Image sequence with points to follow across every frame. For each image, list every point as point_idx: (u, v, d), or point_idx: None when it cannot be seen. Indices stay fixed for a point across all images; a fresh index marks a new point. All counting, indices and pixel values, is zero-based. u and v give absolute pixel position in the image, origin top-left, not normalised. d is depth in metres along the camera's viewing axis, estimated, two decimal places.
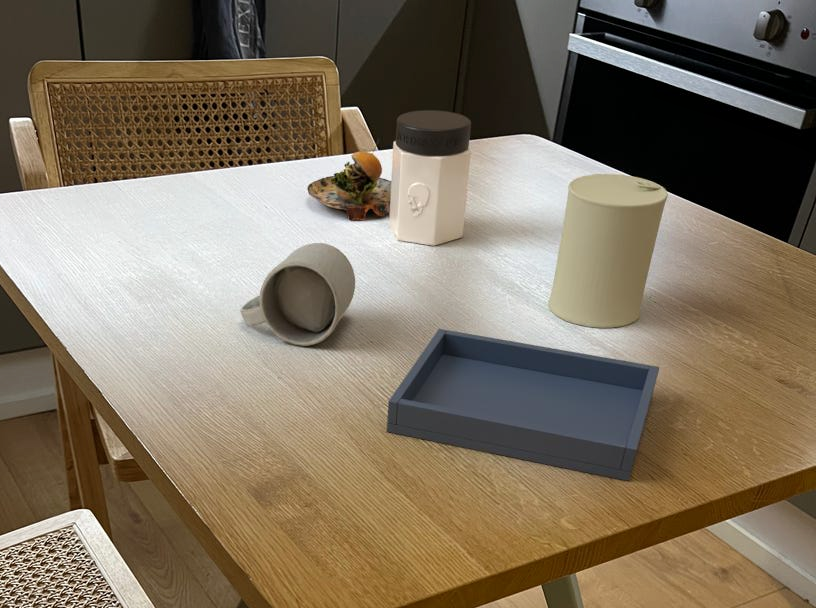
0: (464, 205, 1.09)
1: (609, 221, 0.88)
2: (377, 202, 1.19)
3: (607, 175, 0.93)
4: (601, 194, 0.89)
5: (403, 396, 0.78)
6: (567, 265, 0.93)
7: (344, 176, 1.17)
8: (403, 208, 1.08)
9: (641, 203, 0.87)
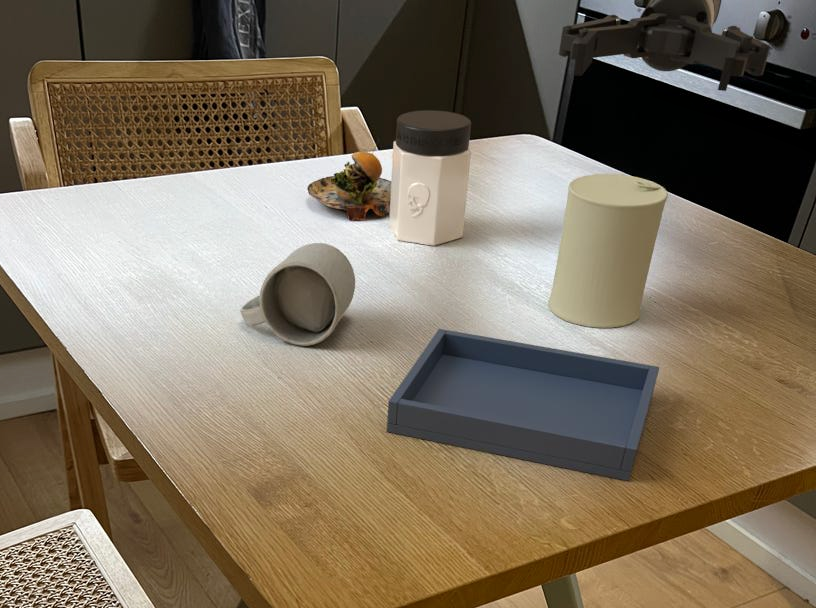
0: (464, 205, 1.09)
1: (609, 221, 0.88)
2: (377, 202, 1.19)
3: (607, 175, 0.93)
4: (601, 194, 0.89)
5: (403, 396, 0.78)
6: (567, 265, 0.93)
7: (344, 176, 1.17)
8: (403, 208, 1.08)
9: (641, 203, 0.87)
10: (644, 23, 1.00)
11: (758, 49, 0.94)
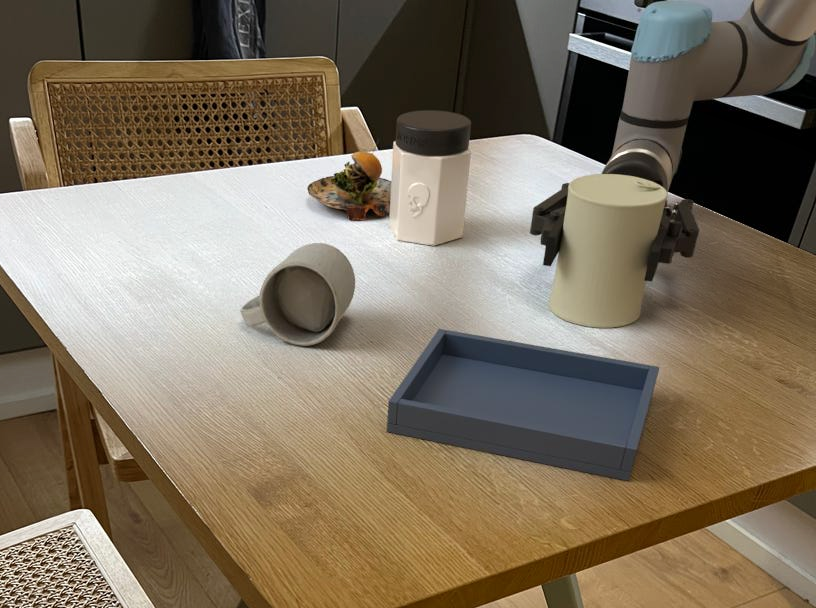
0: (464, 205, 1.09)
1: (609, 221, 0.88)
2: (377, 202, 1.19)
3: (607, 175, 0.93)
4: (601, 194, 0.89)
5: (403, 396, 0.78)
6: (567, 265, 0.93)
7: (344, 176, 1.17)
8: (403, 208, 1.08)
9: (641, 203, 0.87)
10: None
11: (686, 233, 0.93)
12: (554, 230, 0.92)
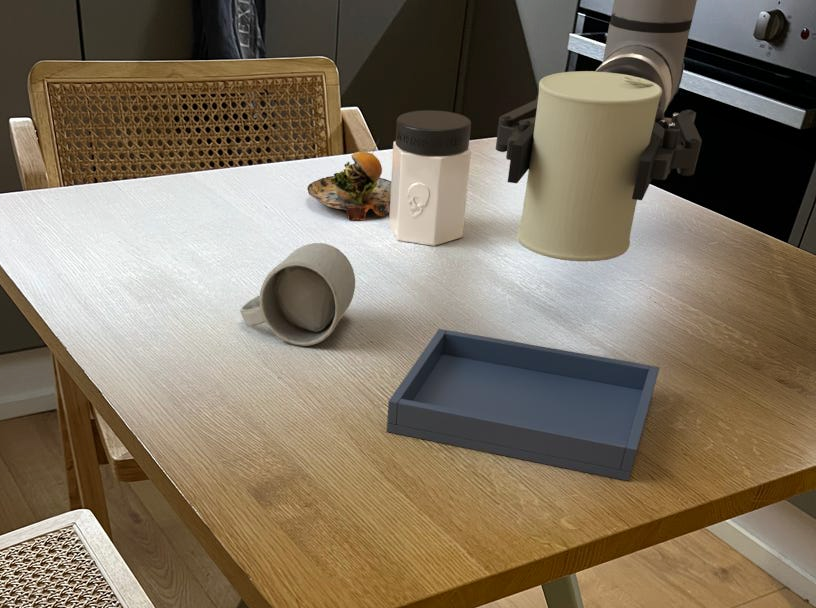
0: (464, 205, 1.09)
1: (588, 123, 0.70)
2: (377, 202, 1.19)
3: (588, 72, 0.76)
4: (579, 90, 0.72)
5: (403, 396, 0.78)
6: (537, 183, 0.76)
7: (344, 176, 1.17)
8: (403, 208, 1.08)
9: (628, 99, 0.70)
10: None
11: (686, 144, 0.76)
12: (522, 138, 0.74)
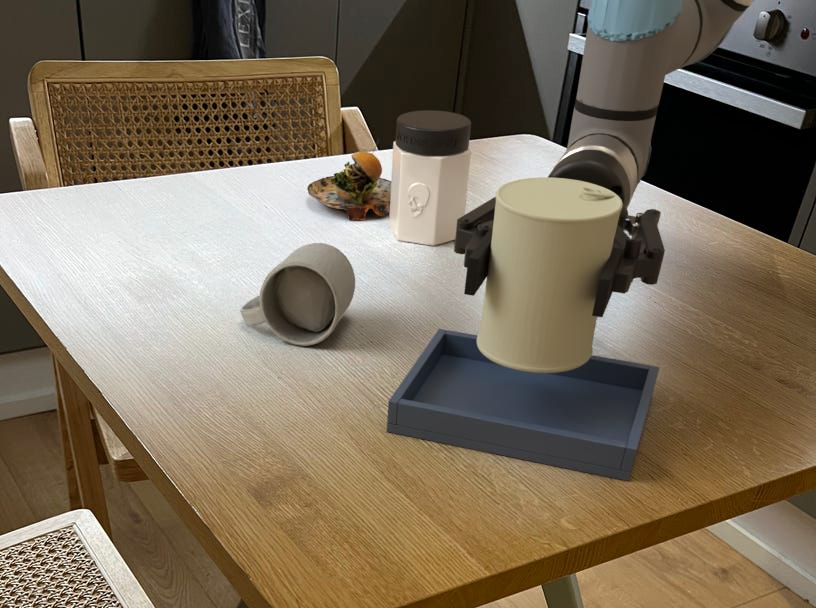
0: (464, 205, 1.09)
1: (546, 240, 0.68)
2: (377, 202, 1.19)
3: (548, 179, 0.73)
4: (537, 204, 0.69)
5: (403, 396, 0.78)
6: (495, 294, 0.73)
7: (344, 176, 1.17)
8: (403, 208, 1.08)
9: (587, 216, 0.67)
10: None
11: (648, 253, 0.73)
12: (478, 250, 0.72)
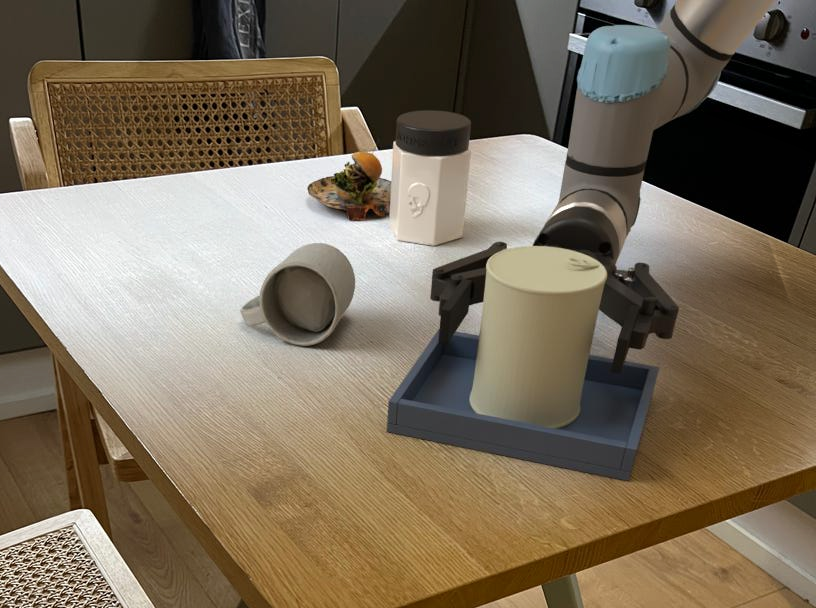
0: (464, 205, 1.09)
1: (534, 310, 0.71)
2: (377, 202, 1.19)
3: (536, 247, 0.76)
4: (525, 275, 0.72)
5: (403, 396, 0.78)
6: (487, 358, 0.76)
7: (344, 176, 1.17)
8: (403, 208, 1.08)
9: (572, 288, 0.71)
10: None
11: (664, 311, 0.76)
12: (451, 300, 0.76)
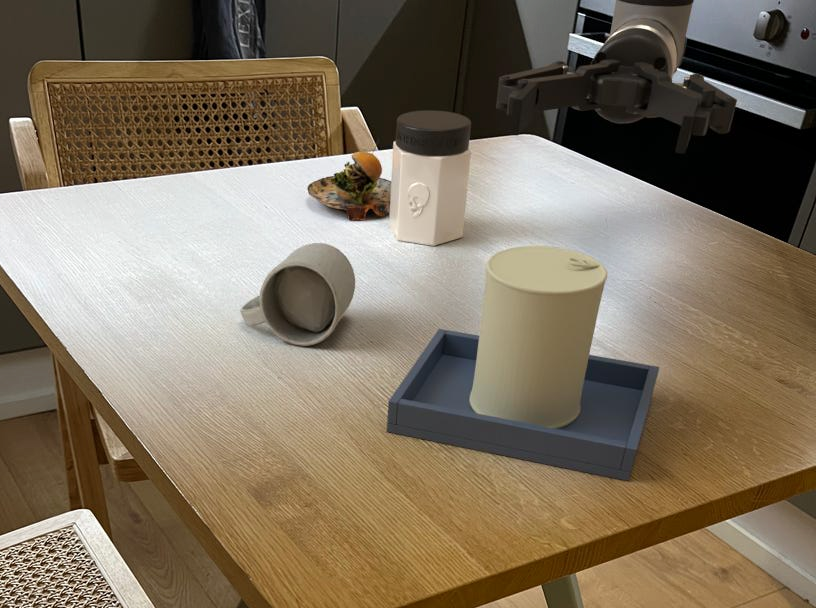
0: (464, 205, 1.09)
1: (534, 310, 0.71)
2: (377, 202, 1.19)
3: (536, 247, 0.76)
4: (525, 275, 0.72)
5: (403, 396, 0.78)
6: (487, 358, 0.76)
7: (344, 176, 1.17)
8: (403, 208, 1.08)
9: (572, 288, 0.71)
10: (593, 71, 0.87)
11: (723, 103, 0.81)
12: (521, 94, 0.81)
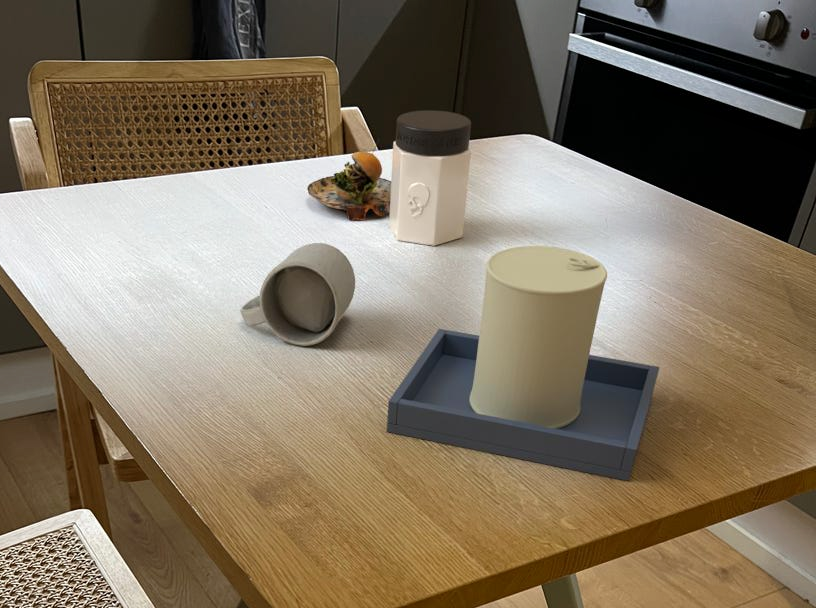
0: (464, 205, 1.09)
1: (534, 310, 0.71)
2: (377, 202, 1.19)
3: (536, 247, 0.76)
4: (525, 275, 0.72)
5: (403, 396, 0.78)
6: (487, 358, 0.76)
7: (344, 176, 1.17)
8: (403, 208, 1.08)
9: (572, 288, 0.71)
10: None
11: None
12: None
